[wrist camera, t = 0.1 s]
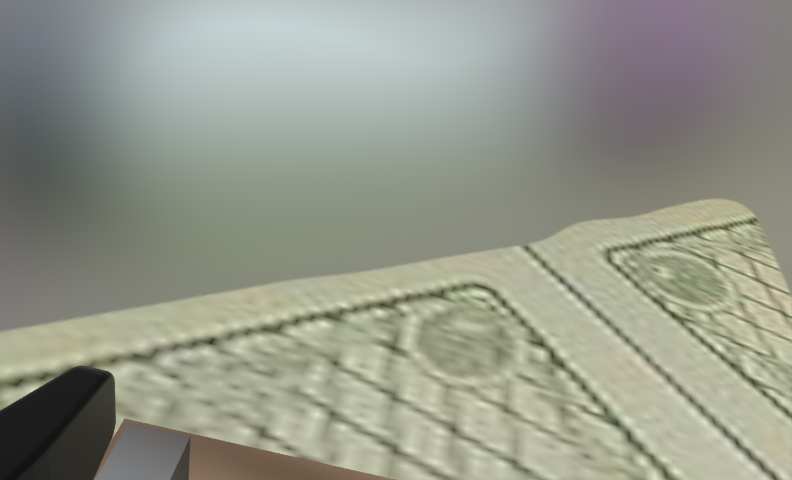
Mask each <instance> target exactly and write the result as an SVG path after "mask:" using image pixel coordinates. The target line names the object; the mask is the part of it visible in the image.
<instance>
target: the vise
mask: <svg viewBox="0 0 792 480" xmlns="http://www.w3.org/2000/svg"><path fill="white" fill-rule="evenodd" d="M94 480H394V479H389V478H385V477H381V476H376V475H372V474H367V473H363V472H358V471H354V470H350V469H345V468H341V467H336V466H332V465H327V464H323V463H319V462H314V461H310V460H305V459H301V458H296V457H292V456H288V455H283V454H279V453H274V452H270V451H265V450H261V449H257V448H252V447H248V446H243V445H239V444H235V443H230V442H226V441H221V440H217V439H212V438H208V437H204V436H199V435H195V434H190V433H186V432H181V431H177V430H173V429H168V428H164V427H159V426H155V425H150V424H146V423H142V422H137V421H133V420H128V419H124V420H123V422H122V424H121V425H120V427H119V429H118V431H117V432H116V434H115V436H114V437H113V439H112V441H111V443H110V444H109V446H108V448H107V450H106V453H105V455H104V457H103V459H102V462H101V464H100V466H99V469H98V471H97V473H96V475H95V478H94Z"/></svg>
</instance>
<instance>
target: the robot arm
mask: <svg viewBox="0 0 792 480" xmlns="http://www.w3.org/2000/svg"><path fill="white" fill-rule="evenodd" d="M115 423H116V409H115V381H114V377H113V375H112V374H111V373H110V372H108V371H105V370H100V369H96V368H92V367H87V366H77V367H74V368H72V369H70V370H68V371H67V372H65V373H63V374H62V375H60V376H58V377H56V378H55V379H53V380H51V381H50V382H48V383H46V384H45V385H43V386H41V387H39V388H38V389H36V390H34V391H33V392H31V393H29V394H28V395H26V396H24V397H23V398H21V399H19V400H17V401H16V402H14V403H12V404H11V405H9V406H7V407H6V408H4V409H2V410H1V411H0V480H94V478H95V475H96V473H97V471H98V469H99V466H100V464H101V462H102V459H103V457H104V455H105V453H106V450H107V448H108V446H109V444H110V441H111V439H112V436H113V433H114V429H115Z"/></svg>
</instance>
